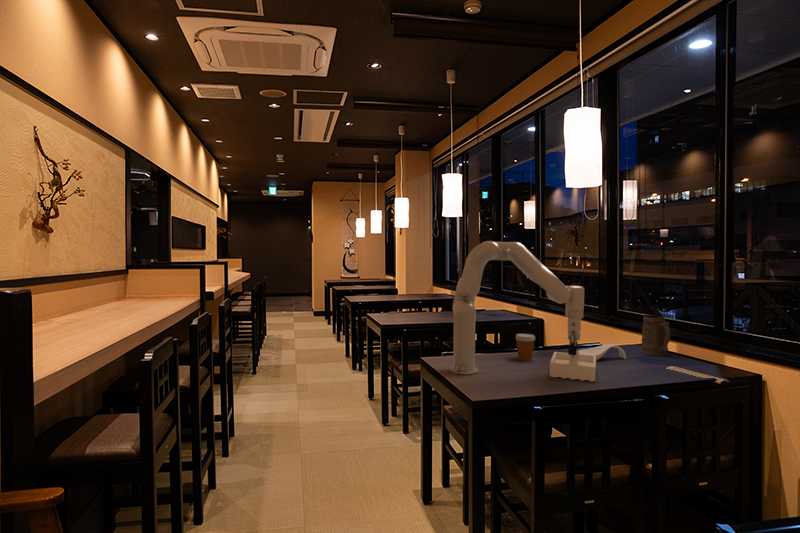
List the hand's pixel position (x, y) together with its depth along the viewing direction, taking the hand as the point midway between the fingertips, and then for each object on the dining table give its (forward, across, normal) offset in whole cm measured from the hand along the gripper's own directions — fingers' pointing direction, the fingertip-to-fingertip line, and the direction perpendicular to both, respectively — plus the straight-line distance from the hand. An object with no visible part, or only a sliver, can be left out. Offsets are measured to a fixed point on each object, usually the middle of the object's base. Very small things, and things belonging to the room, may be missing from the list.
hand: (572, 352), depth 203 cm
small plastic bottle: (+9, 0, 0) cm, 9 cm away
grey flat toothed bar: (+9, +18, -50) cm, 54 cm away
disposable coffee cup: (+9, +15, +22) cm, 29 cm away
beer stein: (+8, +53, -38) cm, 66 cm away
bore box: (+9, 0, 0) cm, 9 cm away
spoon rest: (+9, +32, -12) cm, 36 cm away
